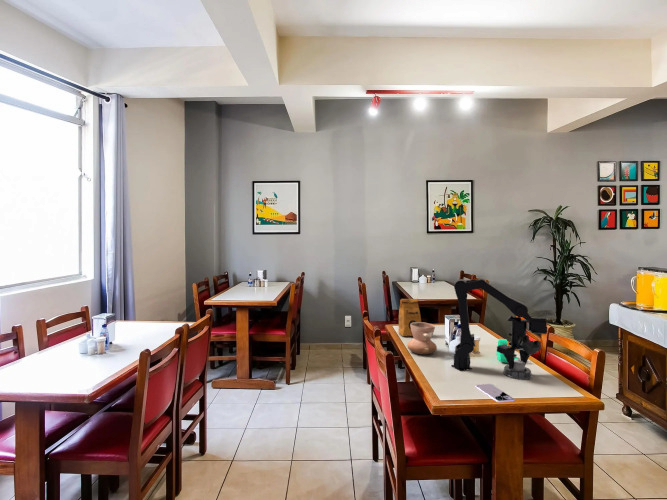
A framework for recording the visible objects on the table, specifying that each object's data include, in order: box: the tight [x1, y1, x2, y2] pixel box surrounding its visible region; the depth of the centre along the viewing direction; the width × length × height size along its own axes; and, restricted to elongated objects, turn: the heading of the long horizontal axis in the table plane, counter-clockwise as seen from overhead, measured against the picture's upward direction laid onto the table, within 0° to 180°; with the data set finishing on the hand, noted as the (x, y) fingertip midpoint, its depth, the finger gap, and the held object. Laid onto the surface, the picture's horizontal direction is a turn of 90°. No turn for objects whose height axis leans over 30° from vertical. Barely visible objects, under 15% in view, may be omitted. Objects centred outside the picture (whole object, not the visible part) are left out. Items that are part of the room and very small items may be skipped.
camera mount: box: [495, 338, 519, 364], centre depth 179 cm, size 12×8×10 cm, turn 166°
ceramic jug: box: [407, 321, 438, 355], centre depth 190 cm, size 18×14×14 cm
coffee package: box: [398, 298, 422, 337], centre depth 222 cm, size 10×12×22 cm
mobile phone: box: [474, 383, 516, 403], centre depth 141 cm, size 8×1×15 cm
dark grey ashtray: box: [502, 364, 533, 381], centre depth 160 cm, size 11×11×3 cm
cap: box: [511, 359, 526, 372], centre depth 160 cm, size 5×5×5 cm
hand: (517, 367), depth 160 cm, fingers open, 6 cm apart
